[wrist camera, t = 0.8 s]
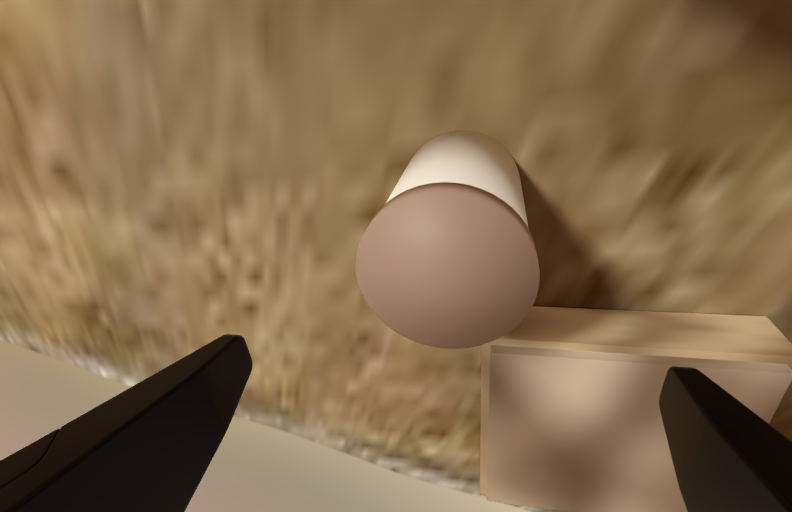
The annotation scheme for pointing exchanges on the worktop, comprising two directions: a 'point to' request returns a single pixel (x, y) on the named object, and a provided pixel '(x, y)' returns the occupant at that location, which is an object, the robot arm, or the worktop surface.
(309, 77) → the worktop surface
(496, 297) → the spice tin
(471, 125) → the worktop surface
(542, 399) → the block
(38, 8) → the worktop surface
